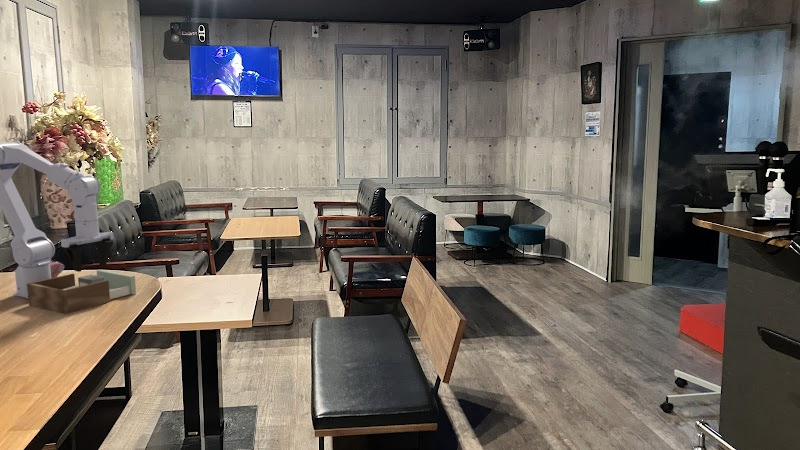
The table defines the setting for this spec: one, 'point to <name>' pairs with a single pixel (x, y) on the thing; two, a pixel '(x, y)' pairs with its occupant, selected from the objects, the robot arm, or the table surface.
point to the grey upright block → (89, 279)
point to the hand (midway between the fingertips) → (90, 268)
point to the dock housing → (66, 294)
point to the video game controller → (56, 268)
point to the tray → (116, 283)
